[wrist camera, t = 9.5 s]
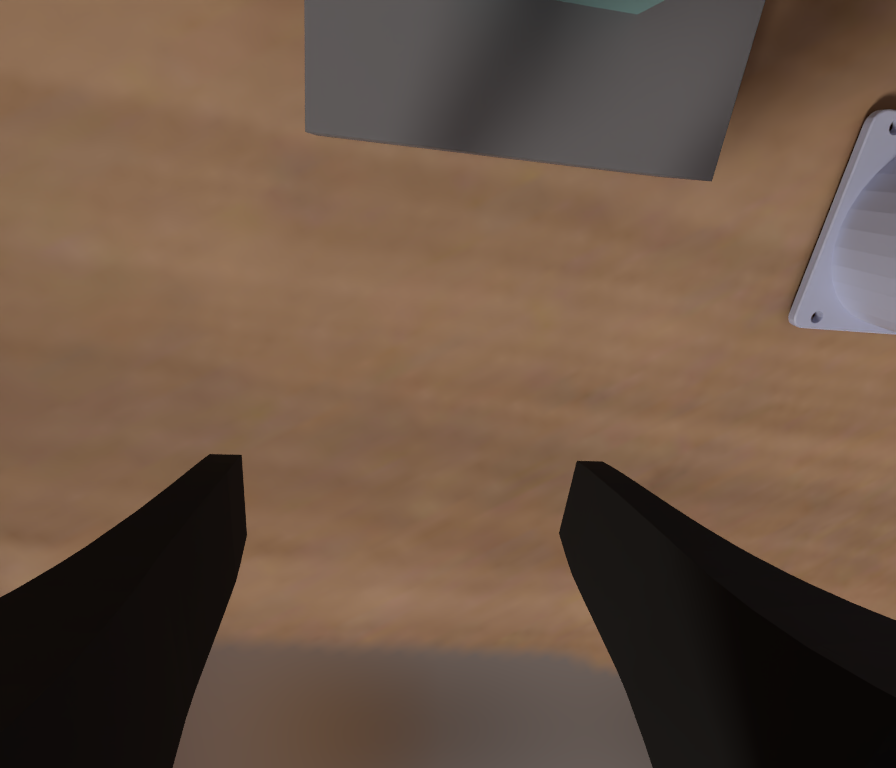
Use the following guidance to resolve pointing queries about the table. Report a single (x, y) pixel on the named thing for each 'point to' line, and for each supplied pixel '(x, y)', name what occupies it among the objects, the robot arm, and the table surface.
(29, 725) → the robot arm
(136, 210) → the table surface
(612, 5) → the teal block
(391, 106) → the plinth
